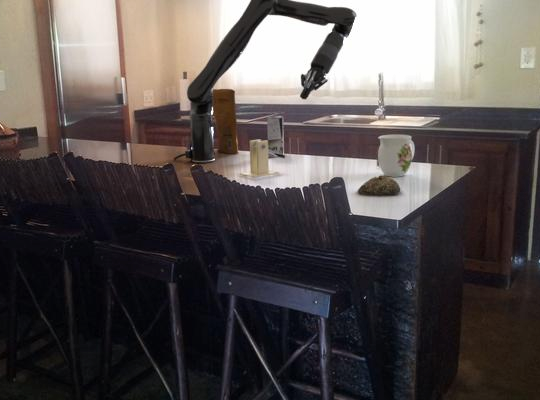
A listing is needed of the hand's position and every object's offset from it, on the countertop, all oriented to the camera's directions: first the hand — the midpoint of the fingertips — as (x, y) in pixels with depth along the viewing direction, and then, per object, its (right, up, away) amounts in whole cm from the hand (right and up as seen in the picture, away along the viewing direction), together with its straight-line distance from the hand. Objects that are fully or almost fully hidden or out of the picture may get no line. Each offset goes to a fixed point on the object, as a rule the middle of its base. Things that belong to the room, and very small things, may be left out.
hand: (302, 98), depth 236 cm
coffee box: (-5, -19, +33) cm, 39 cm away
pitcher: (+29, -29, -16) cm, 44 cm away
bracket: (-17, -29, -6) cm, 34 cm away
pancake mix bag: (-25, -16, +48) cm, 57 cm away
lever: (-14, -21, -6) cm, 26 cm away
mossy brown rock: (+17, -35, -39) cm, 55 cm away
